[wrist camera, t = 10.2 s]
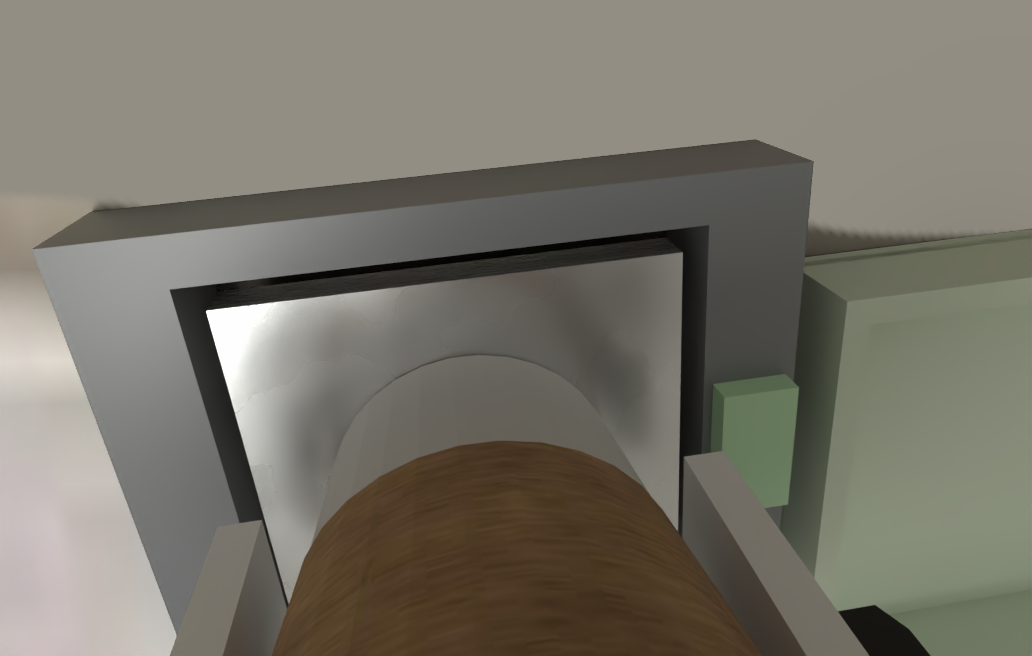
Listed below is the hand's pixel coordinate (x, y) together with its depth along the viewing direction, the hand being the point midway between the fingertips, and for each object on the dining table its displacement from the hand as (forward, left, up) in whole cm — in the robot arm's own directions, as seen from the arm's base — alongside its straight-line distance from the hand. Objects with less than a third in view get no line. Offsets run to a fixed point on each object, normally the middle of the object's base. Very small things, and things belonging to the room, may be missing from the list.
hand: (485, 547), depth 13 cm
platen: (0, 0, -3) cm, 3 cm away
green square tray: (+14, -3, -5) cm, 15 cm away
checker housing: (0, 0, -5) cm, 5 cm away
